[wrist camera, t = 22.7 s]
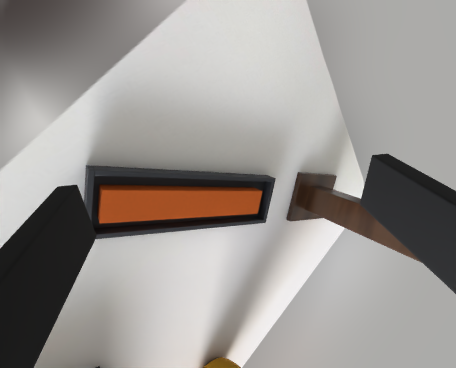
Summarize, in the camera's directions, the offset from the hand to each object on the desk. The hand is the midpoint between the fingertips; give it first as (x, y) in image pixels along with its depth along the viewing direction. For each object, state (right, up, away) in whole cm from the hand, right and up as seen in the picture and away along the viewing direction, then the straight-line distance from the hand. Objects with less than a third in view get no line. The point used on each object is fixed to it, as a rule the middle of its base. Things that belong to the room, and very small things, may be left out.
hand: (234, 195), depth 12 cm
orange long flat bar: (-6, -2, +25) cm, 26 cm away
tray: (-6, -2, +26) cm, 27 cm away
